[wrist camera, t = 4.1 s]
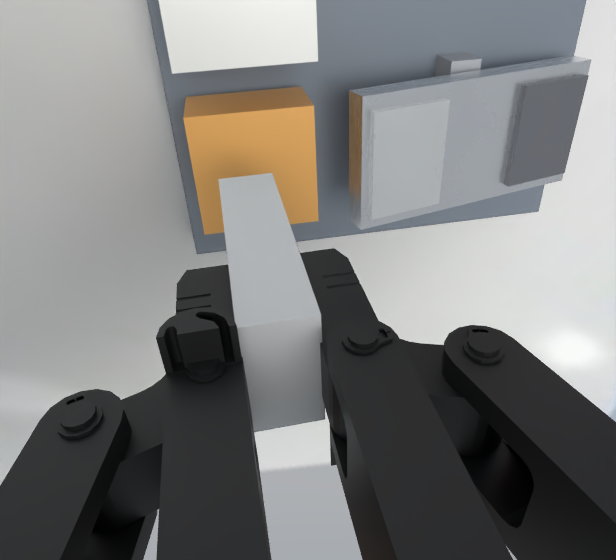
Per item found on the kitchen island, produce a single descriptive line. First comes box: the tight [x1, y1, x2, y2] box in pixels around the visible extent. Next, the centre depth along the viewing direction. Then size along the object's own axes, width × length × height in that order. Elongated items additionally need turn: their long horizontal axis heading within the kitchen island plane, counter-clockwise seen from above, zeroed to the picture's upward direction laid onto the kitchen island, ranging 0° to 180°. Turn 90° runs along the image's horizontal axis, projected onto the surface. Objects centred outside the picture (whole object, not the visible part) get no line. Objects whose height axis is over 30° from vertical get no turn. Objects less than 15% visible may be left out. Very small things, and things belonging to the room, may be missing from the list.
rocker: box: [349, 56, 591, 230], centre depth 20 cm, size 10×5×1 cm, turn 93°
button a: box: [183, 87, 319, 235], centre depth 19 cm, size 4×4×3 cm
